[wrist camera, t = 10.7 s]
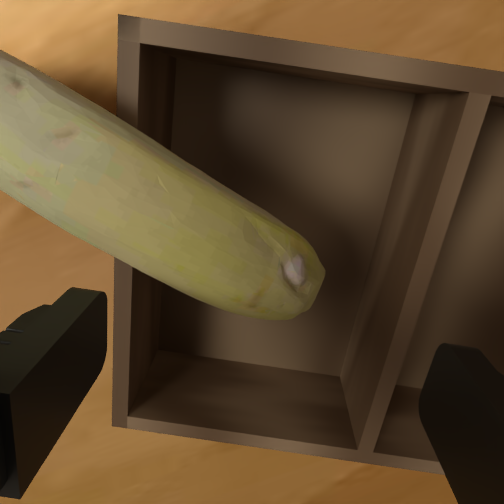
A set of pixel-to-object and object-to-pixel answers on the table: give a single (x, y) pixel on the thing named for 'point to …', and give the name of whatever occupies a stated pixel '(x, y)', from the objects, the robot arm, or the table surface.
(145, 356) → the walnut crate
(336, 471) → the table surface
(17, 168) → the fruit
